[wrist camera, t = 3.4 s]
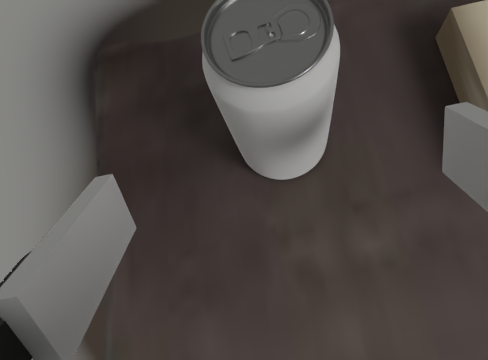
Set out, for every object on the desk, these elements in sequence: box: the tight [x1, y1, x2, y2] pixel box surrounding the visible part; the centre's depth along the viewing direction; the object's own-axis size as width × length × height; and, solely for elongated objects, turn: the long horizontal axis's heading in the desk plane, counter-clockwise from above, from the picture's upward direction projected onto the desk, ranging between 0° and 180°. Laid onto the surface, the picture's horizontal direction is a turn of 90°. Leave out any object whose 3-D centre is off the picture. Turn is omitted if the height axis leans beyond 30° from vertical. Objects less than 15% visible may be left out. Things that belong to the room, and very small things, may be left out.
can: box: [201, 0, 340, 180], centre depth 20 cm, size 6×6×12 cm
